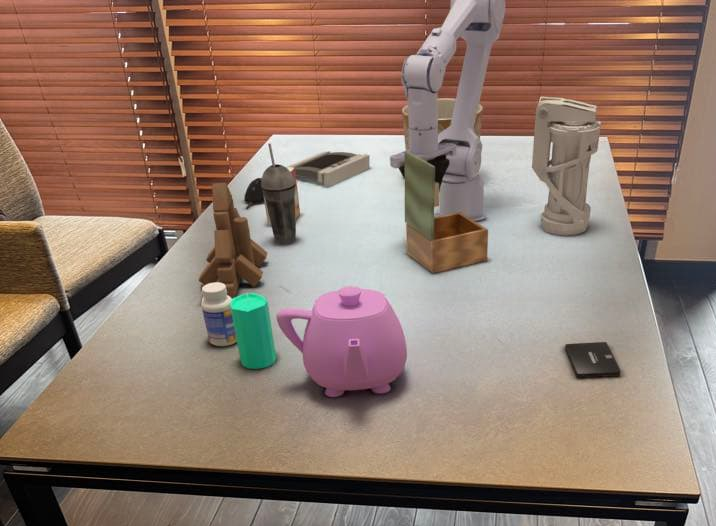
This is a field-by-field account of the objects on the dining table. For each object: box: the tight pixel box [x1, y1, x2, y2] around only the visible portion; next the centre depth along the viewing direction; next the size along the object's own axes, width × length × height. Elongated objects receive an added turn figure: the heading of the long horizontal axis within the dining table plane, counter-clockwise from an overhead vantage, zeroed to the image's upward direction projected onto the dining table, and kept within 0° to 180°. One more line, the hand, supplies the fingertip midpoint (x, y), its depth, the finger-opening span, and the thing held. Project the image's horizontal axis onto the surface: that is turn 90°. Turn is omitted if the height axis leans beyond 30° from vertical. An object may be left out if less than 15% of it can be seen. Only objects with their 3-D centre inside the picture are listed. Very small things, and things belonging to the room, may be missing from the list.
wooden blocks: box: [198, 182, 268, 304], centre depth 154 cm, size 25×12×18 cm, turn 2°
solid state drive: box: [564, 341, 621, 379], centre depth 129 cm, size 7×10×1 cm
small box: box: [260, 166, 301, 226], centre depth 179 cm, size 8×6×10 cm
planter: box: [401, 97, 484, 162], centre depth 194 cm, size 19×19×16 cm
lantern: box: [531, 96, 602, 236], centre depth 165 cm, size 13×10×25 cm
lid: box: [404, 150, 435, 240], centre depth 153 cm, size 13×12×1 cm
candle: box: [230, 292, 277, 370], centre depth 130 cm, size 6×6×12 cm
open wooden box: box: [405, 212, 489, 274], centre depth 161 cm, size 13×12×6 cm
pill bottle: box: [200, 281, 237, 347], centre depth 136 cm, size 5×5×10 cm
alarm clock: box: [287, 151, 370, 188], centre depth 206 cm, size 17×5×16 cm
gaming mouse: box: [244, 177, 265, 210], centre depth 193 cm, size 6×15×4 cm, turn 165°
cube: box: [434, 182, 440, 208], centre depth 163 cm, size 4×4×4 cm
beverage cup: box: [261, 143, 297, 246], centre depth 166 cm, size 7×7×20 cm
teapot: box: [275, 285, 408, 398], centre depth 122 cm, size 20×20×15 cm
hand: (424, 198), depth 164 cm, fingers closed on cube, 4 cm apart
